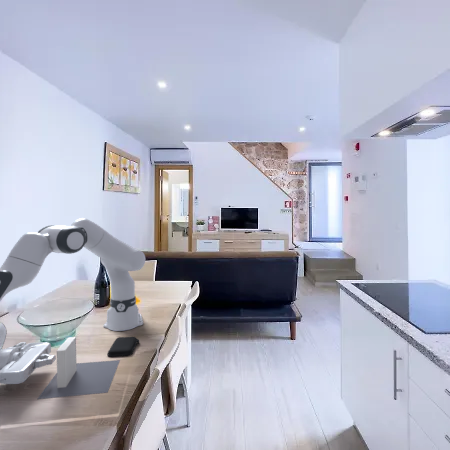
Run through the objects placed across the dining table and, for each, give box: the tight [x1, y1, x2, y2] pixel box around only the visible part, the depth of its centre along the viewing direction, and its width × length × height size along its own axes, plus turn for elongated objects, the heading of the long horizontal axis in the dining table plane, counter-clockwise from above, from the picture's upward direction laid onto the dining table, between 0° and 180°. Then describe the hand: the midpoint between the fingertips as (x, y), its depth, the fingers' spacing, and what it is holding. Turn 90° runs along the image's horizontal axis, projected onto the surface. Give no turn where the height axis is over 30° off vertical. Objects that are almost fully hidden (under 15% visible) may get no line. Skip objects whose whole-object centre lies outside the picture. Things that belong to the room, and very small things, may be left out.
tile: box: [56, 336, 77, 388], centre depth 97 cm, size 10×3×12 cm, turn 9°
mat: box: [37, 359, 121, 400], centre depth 98 cm, size 20×20×1 cm
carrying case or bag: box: [106, 336, 140, 358], centre depth 119 cm, size 11×3×15 cm
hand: (54, 359), depth 97 cm, fingers closed
